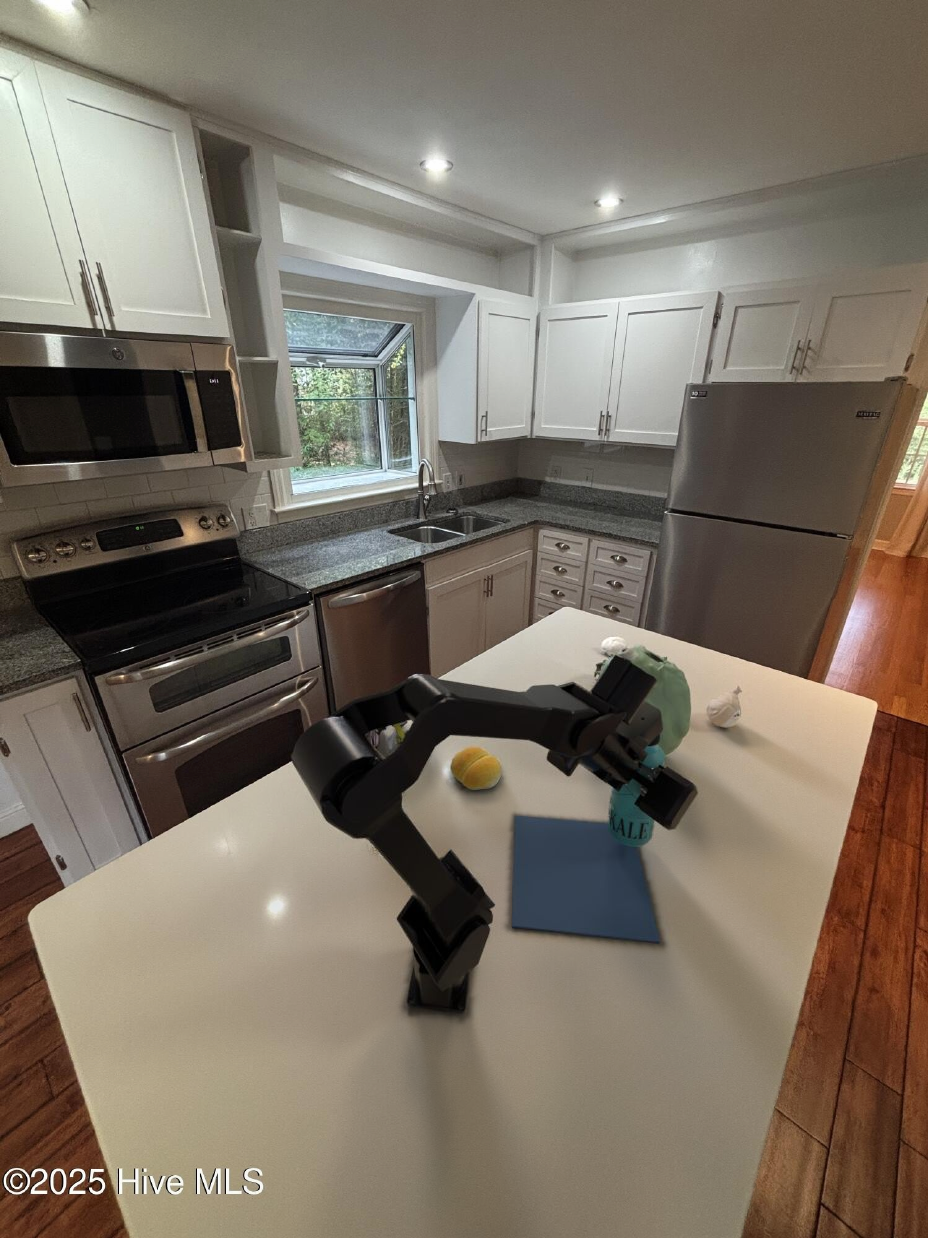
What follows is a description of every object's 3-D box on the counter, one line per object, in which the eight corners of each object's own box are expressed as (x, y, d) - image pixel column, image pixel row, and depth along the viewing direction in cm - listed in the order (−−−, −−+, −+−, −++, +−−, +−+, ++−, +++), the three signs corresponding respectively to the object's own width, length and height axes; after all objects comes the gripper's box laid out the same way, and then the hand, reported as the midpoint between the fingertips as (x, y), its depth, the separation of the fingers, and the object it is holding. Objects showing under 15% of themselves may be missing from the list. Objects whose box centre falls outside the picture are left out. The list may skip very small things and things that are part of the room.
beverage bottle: (637, 819, 77) (653, 707, 69) (661, 853, 71) (682, 734, 63) (597, 825, 75) (610, 712, 68) (618, 861, 69) (634, 741, 62)
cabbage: (645, 796, 83) (665, 694, 74) (568, 735, 97) (577, 644, 89) (704, 762, 90) (728, 666, 82) (624, 710, 105) (637, 625, 96)
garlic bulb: (744, 733, 98) (754, 699, 94) (711, 733, 98) (720, 698, 94) (729, 713, 104) (737, 680, 100) (698, 713, 104) (705, 680, 100)
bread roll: (477, 800, 82) (477, 781, 80) (443, 771, 88) (443, 753, 86) (512, 776, 87) (513, 758, 85) (478, 751, 93) (478, 734, 91)
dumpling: (629, 654, 128) (632, 643, 125) (618, 664, 125) (620, 653, 122) (607, 641, 132) (609, 630, 129) (595, 650, 129) (597, 639, 126)
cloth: (659, 943, 61) (660, 941, 60) (511, 927, 62) (511, 925, 62) (631, 826, 77) (631, 825, 77) (514, 816, 79) (514, 815, 79)
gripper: (706, 731, 54) (736, 771, 64) (577, 662, 68) (618, 704, 78) (649, 818, 53) (689, 844, 63) (530, 730, 67) (579, 763, 77)
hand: (640, 781), depth 70 cm, fingers closed on beverage bottle, 6 cm apart
